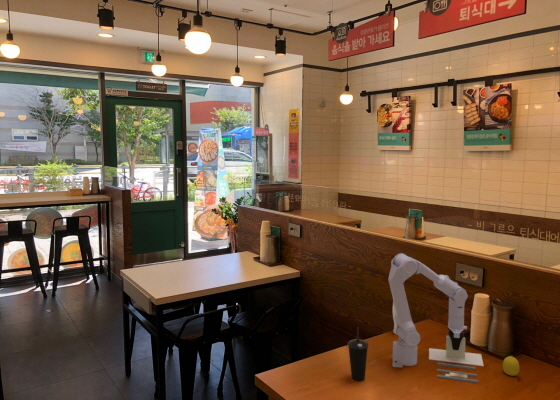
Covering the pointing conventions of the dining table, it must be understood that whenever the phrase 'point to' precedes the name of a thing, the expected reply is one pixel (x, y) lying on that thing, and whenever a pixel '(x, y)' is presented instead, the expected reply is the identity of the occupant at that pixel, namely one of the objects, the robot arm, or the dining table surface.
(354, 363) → the drinking cup
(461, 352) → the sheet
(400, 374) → the dining table surface
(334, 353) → the dining table surface
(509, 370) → the lemon
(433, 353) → the board
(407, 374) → the dining table surface
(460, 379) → the rack
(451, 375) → the offcut top
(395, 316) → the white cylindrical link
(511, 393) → the dining table surface
